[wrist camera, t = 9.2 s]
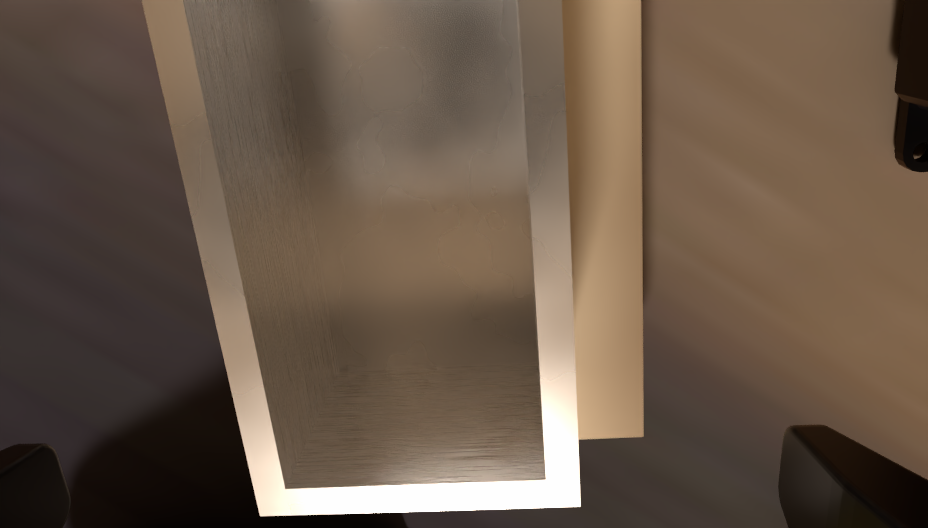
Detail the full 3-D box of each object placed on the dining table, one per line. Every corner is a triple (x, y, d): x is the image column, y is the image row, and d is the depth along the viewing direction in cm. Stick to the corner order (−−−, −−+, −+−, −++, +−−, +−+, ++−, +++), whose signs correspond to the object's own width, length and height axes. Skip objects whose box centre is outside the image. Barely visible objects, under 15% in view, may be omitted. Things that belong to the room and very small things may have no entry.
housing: (561, 371, 18) (580, 506, 13) (324, 382, 18) (259, 516, 13) (541, -74, 14) (557, -110, 9) (249, -44, 15) (127, -64, 10)
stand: (617, -167, 16) (640, -202, 13) (625, 377, 21) (643, 437, 18) (193, -117, 17) (129, -140, 14) (294, 394, 22) (262, 452, 19)
